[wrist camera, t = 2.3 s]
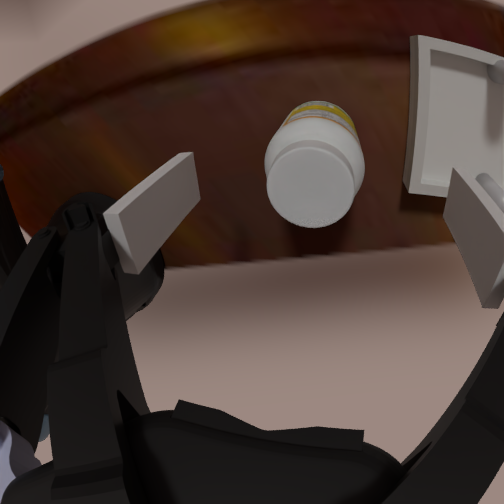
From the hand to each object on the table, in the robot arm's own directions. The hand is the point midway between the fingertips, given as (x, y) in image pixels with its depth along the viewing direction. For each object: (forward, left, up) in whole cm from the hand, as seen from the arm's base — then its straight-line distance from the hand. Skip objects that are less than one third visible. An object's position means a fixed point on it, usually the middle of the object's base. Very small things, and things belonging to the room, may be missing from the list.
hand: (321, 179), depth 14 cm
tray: (+13, +3, -8) cm, 15 cm away
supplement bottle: (0, 0, -9) cm, 9 cm away
